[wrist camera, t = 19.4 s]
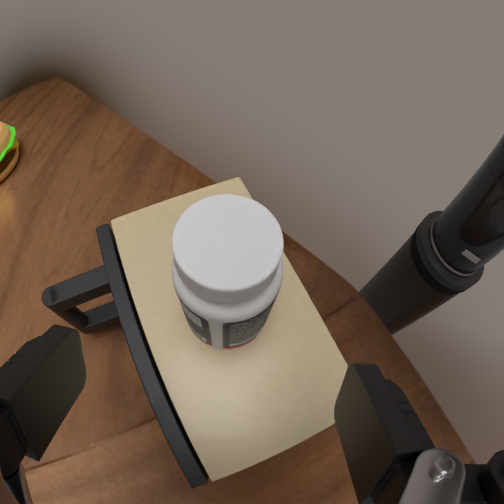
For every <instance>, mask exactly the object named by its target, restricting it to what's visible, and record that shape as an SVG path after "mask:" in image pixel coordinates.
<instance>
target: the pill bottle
mask: <svg viewBox="0 0 504 504" xmlns="http://www.w3.org/2000/svg"><path fill="white" fill-rule="evenodd" d="M283 248H284V240H283V234H282V231H281V228H280V225H279V223H278V222H277V220H276V219H275V217H274V216H273V214H271V213H270V211H269V210H268V209H267V208H265V207H264V206H263V205H261V204H260V203H258V202H256V201H254V200H252V199H250V198H247V197H243V196H239V195H233V194H221V195H215V196H210V197H207V198H204V199H202V200H199V201H198V202H196V203H195V204H193V205H191V206H190V207H189V208H188V209H187V210H185V212H184V213H183V214H182V215H181V216H180V218H179V219H178V221H177V223H176V225H175V227H174V230H173V235H172V251H173V260H172V279H173V284H174V288H175V290H176V293H177V295H178V298H179V301H180V304H181V306H182V309H183V312H184V314H185V317H186V320H187V322H188V324H189V327H190V328H191V330H192V332H193V333H194V334H195V336H196V337H197V338H198V339H200V340H201V341H202V342H204V343H205V344H207V345H209V346H212V347H215V348H219V349H235V348H239V347H242V346H244V345H246V344H248V343H250V342H251V341H253V340H254V339H255V338H256V337H257V336H258V335H259V333H260V332H261V330H262V329H263V327H264V325H265V323H266V321H267V318H268V316H269V314H270V311H271V309H272V307H273V304H274V302H275V300H276V297H277V295H278V293H279V290H280V287H281V284H282V279H283V261H282V254H283Z"/></svg>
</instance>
